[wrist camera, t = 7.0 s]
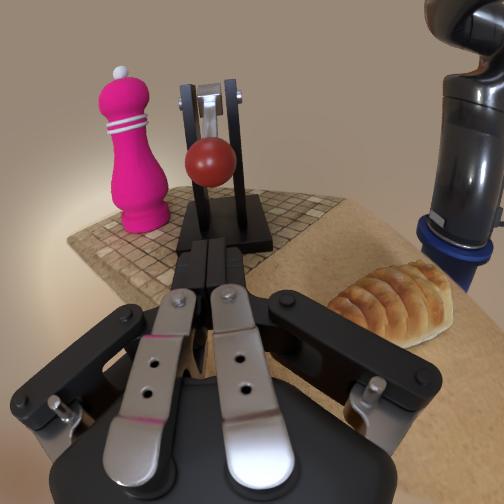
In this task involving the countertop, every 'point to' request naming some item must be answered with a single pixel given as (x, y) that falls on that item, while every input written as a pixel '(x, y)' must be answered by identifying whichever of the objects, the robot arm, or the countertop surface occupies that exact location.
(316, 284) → the countertop surface
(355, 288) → the pastry
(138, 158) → the pepper mill
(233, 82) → the bracket
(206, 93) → the lever
